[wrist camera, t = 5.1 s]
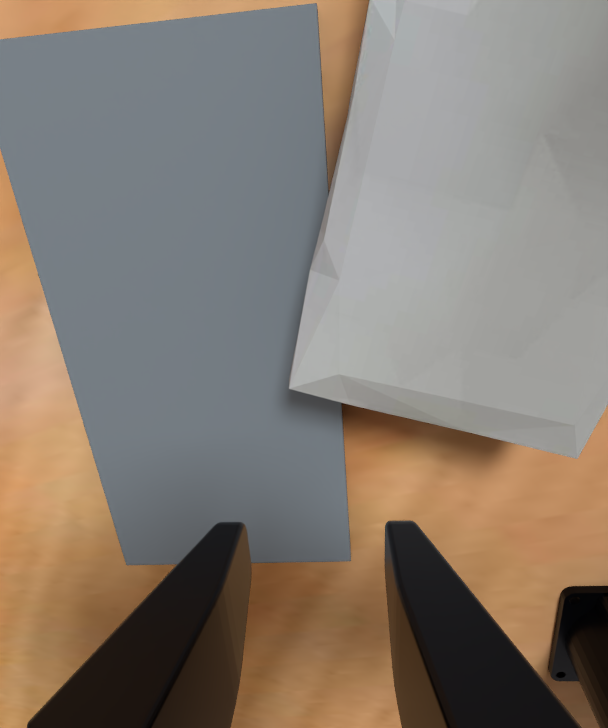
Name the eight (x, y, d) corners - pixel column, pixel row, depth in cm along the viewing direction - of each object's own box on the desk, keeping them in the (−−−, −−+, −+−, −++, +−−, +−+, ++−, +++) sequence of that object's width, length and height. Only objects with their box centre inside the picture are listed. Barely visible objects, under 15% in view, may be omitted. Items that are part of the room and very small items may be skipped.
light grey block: (817, -195, 13) (440, -275, 13) (1041, -365, 9) (474, -479, 9) (538, 401, 21) (300, 342, 21) (583, 472, 16) (280, 395, 16)
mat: (350, 548, 25) (350, 561, 24) (132, 552, 26) (126, 565, 25) (317, 9, 16) (316, 2, 15) (-16, 47, 17) (-32, 43, 16)
